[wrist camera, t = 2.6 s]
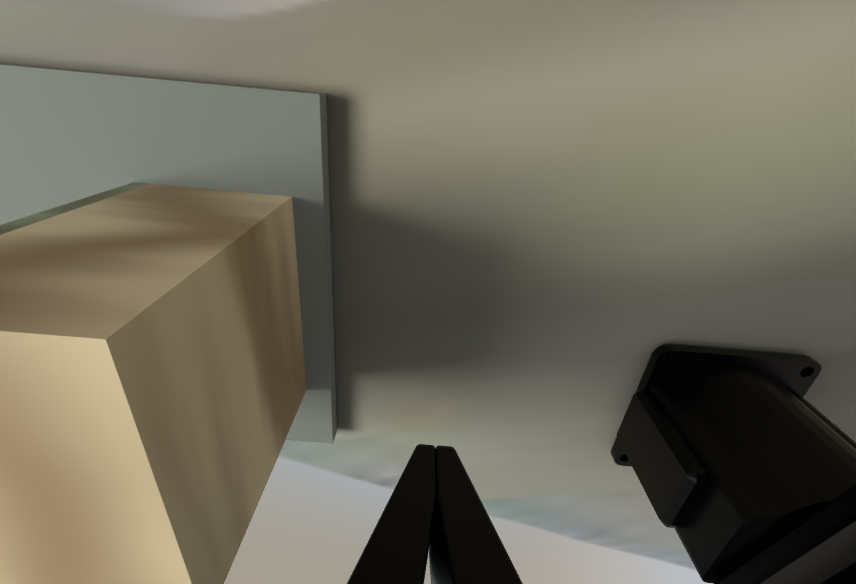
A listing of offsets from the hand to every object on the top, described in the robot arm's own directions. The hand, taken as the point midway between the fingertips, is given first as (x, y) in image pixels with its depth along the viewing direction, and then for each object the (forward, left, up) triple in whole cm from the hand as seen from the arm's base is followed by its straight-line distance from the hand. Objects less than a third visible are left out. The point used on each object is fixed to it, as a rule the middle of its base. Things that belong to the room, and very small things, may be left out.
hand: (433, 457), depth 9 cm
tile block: (+7, 0, -6) cm, 10 cm away
